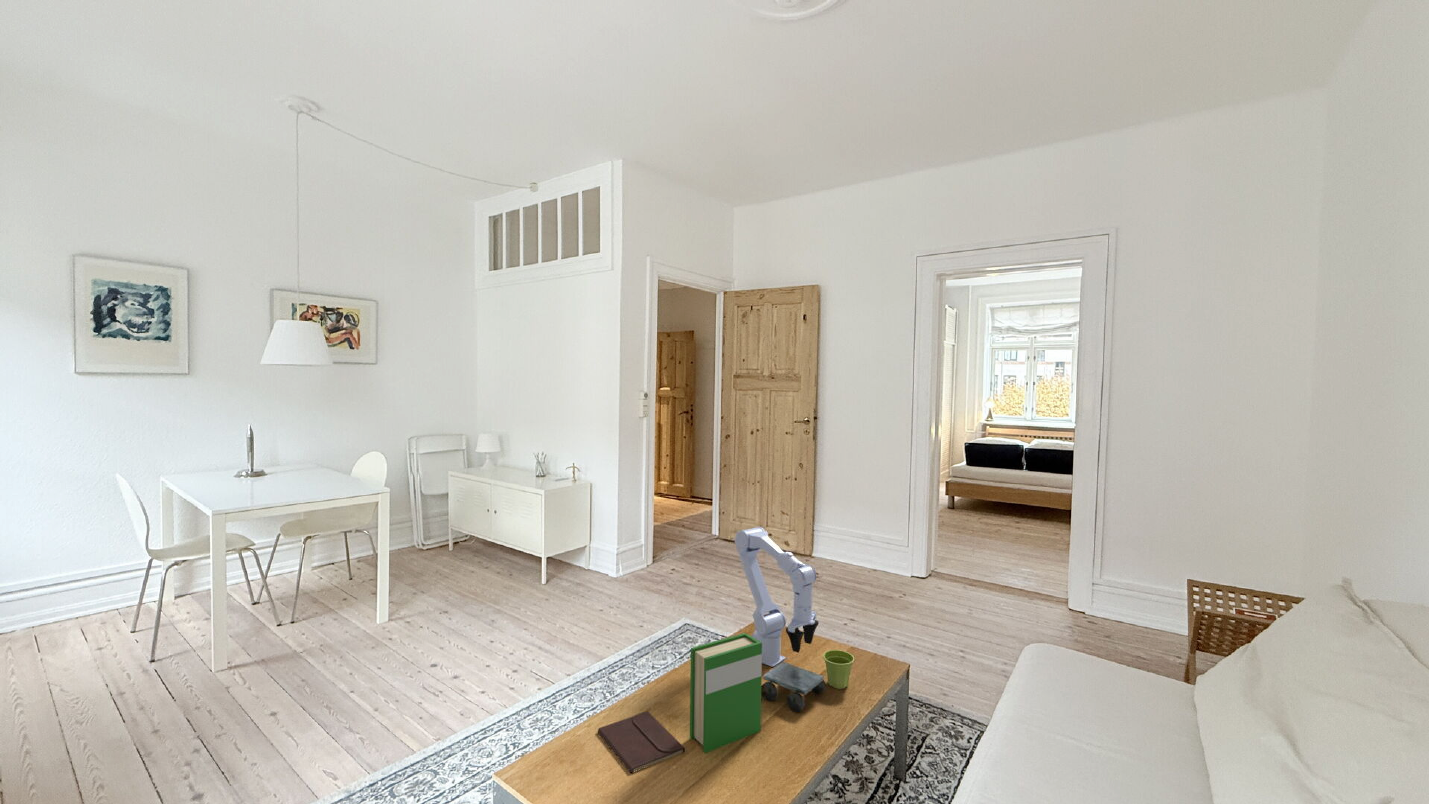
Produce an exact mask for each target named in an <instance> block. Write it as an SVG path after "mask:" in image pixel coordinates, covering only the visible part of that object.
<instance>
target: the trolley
mask: <svg viewBox="0 0 1429 804" xmlns="http://www.w3.org/2000/svg"><path fill="white" fill-rule="evenodd" d="M763 680H765V681H766V682H764V683H763V684H761V694H762V696H763V697H762V698H763V699H764V700H765V701H767V702H773V701H774V700H775V699H777V697H778V689H777V686H776V685H778V686H780V687H782V688H785V689H788V690H790V691H792V692H791V693H789V695H787V697H786V703H787V706H788V708H789V709H790V710H791V711H792V712H794V713H799V712H801V711H802V710H803V709H804V708H805V705H806V702H805V699H804V696H805V695H807V694H808V693H809V692H812V693H814V694H815V695H820V694H822V693H823V692H824V691H825V690H826V686H827V685H826V682H825V680H824V675H822V674H820V673H816V672H813V671H810V670H807V669H805V668H802V667H799V666H796V665H793V664H791V663H787V662H785V661H781V662H780V663H778V664H777V665H775V666H774V667H773V668H771V670H769V671H767V672H766V673H765V674H763ZM803 695H804V696H803Z"/></svg>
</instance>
